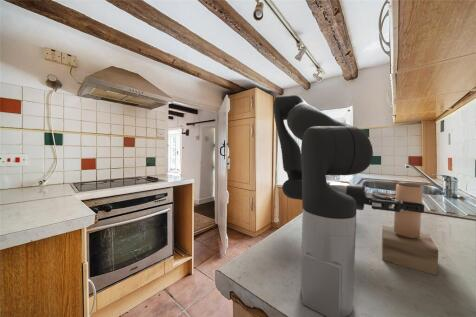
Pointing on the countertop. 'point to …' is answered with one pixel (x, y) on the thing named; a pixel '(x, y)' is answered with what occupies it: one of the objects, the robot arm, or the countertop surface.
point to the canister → (408, 220)
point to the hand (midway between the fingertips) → (421, 205)
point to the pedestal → (410, 251)
